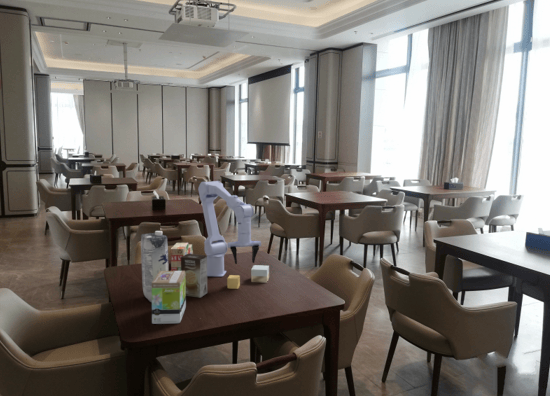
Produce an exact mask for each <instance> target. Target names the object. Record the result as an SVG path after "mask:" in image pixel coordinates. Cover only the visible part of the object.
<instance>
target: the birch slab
mask: <svg viewBox="0 0 550 396" xmlns="http://www.w3.org/2000/svg"><path fill="white" fill-rule="evenodd" d="M250 276H251V275H250ZM250 278H251V279H250V281H251V283H268V282H269V279H270V272H269V273H268V275H267V277H266V276H251V277H250ZM267 281H268V282H267Z"/></svg>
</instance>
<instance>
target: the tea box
mask: <svg viewBox="0 0 550 396" xmlns="http://www.w3.org/2000/svg"><path fill="white" fill-rule="evenodd" d="M186 307H187V296H186V279H185V271H171V270H169V271H159V272H158V274H157V276H156V277H155V279H154V280H153V282H152V302H151V324H153V325H154V324H156V325H162V324H163V325H165V324H180V323H181V321H182V319H183V316H184V314H185V310H186Z"/></svg>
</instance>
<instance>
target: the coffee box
mask: <svg viewBox="0 0 550 396" xmlns="http://www.w3.org/2000/svg"><path fill="white" fill-rule="evenodd" d="M181 271H185V279H186V297H191V298H192V297H194V298H202V297H203V296H205V295H206V294H208V276H207V255H206V254H205V255H204V254H197V253H193V254H189V253H188V254H186V255H184V256H182V257H181Z"/></svg>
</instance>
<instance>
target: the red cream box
mask: <svg viewBox="0 0 550 396" xmlns="http://www.w3.org/2000/svg"><path fill="white" fill-rule="evenodd" d="M188 253H189V254H194V251H193V244H189V242H176V243H175V244H174V245H173V246H172V247H171V248H170V271H181V257H182V256H184V255H186V254H188Z"/></svg>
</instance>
